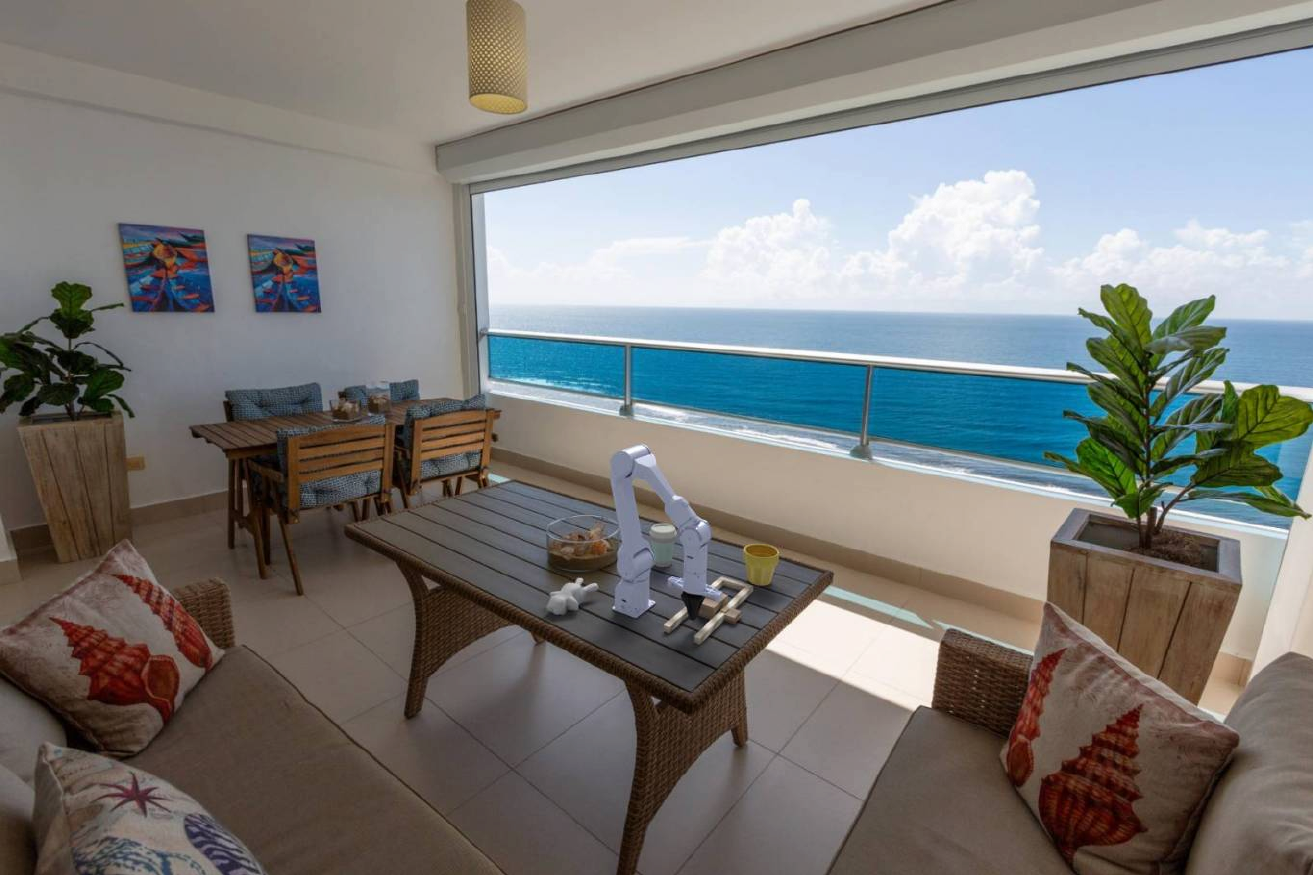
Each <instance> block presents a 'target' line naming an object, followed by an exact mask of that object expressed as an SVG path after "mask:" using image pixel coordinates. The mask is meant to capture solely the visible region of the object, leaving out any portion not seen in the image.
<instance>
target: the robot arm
mask: <svg viewBox="0 0 1313 875" xmlns="http://www.w3.org/2000/svg"><path fill="white" fill-rule="evenodd" d="M609 462H610V468H611V469H610V477H609V480H610V486H611V491H612V496H613V500H614V506H615V511H616V516H617V522H618V527H619V533H620V536H621V537H620V538H621V542H622V543H621V545H620V547H619V549H618V551H617V554H616V555H617V562H616V563H617V564H616V568H617V569H616V570H617V573H618V574H619V576H620V577H621V578H620V579H621V580H620V582H619V583H617V585H616V586H615V589H614V606H612V607H611V608H612V610H613V611H616V612H617V613H621V614H624V615H626V616H629V617H630V618H631V617H632V618H634V619H638V617H640V616H642V614H643V613H645V612H646V611H648V610H649V609H650V608H651V607H653V606H654V605H655V604H656V601H654V600H653V599H650V573H651V569H652V568H653V567H654V566H655V565H654V563H655V556H654V554H653V552H652V548H651V545H650V543H649V541H647V540H646V539H645V538H643V533H642V527H641V523H640V519H639V512H638V507H637V501H636V498H635V497H636V496H635V492H634V486H633V481H634V480H635V479H638V480H639V479H640V480H645V481H646V483H647V484H648V485H649V486H650V488H651V489H652V490H653V491H654V493H656V495H657V496H658V497H659V498H660V499H661V501H663V503H664V512H665V513H666V515H667V516H668V518H669V519H670V520H671V522H672V523H673V524H674V525H673V526H674V527H675V528H677V531H678V532H679V533H680V535H679V540H680V543H681V544H682V547H683V573H682V574H683V577H676V576H670V577H669V578H667V587H671V588H672V587H674V588H676V589H677V588H678V589H680V590H682V593H681V594H680V599H681V600H682V602H683V603H684V607H685V606H686V609H687V612H688V619H689V621H693V622H694V621H696V620H697V619H698V617H699V616H698V613H699V610H700V607H701V605H702V603H703V601H704V599H705V598H706V597H708V598H711V599H714V600H715V601H716V602H719V601H721V600H722V593H723V591H721V590H716V589H714V588H713V587H711V586H710V585H709V584H708V583H707V571H708V570H707V569H708V545H709V543H708V542H710V540H711V539H712V538H713V529H712V527H711V525H710V523H709V522H708V521H707V520H705V519H702V518H701V517H700V516H698V515H697V513H696V512H695V511H694V510H693V508H692V507H691V506H690V503H689V500H688V499H685V497H683V496H679V495H677V494H676V493H675V492H674V490H673V488H672V486H670V484H669V482H668V480H667V479H666V477H665V476H664V474H663V473H662V472H661V470H660V467H659V466H658V464H657V459H656V456H655V455H654V454H653V452H652V451H651V449H650V448H649V447H648V446H647V445H646V444H643V443H640V444H639V443H638V444H636V445H635V446H630V447H628V448H625V449H621V450H617V451H615V453H614V454H613V455H612V456H611V458H610V459H609Z"/></svg>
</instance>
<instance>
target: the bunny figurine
mask: <svg viewBox="0 0 1313 875" xmlns="http://www.w3.org/2000/svg"><path fill="white" fill-rule="evenodd" d="M583 582H584V578H583V577H577V578H576V579H575V582H574V583H573V582H567V583H565V584H564V585H563V586H562V587H561V590H558V591H551V592H550V593H549V600H548V603H547V604H546V605H545V606H546V607H545V608H546V611H547V612H549V613H553V615H557V616H558V615H560V616H564V615H565V614H567V613H568V611H578V610H579V606H580V605H581V604H583V602H584V600H585V597H586V596H587V595H586V594H587V593H589V594H590V593H592V592H596V591H598V590H599V585H598V583H595V582H594V583H590V584H588V585H586V586H584V587H582V586H581V585H582V583H583Z"/></svg>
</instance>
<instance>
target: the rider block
mask: <svg viewBox="0 0 1313 875" xmlns="http://www.w3.org/2000/svg"><path fill="white" fill-rule="evenodd" d="M728 598H729V595H728V594H726V593H723V592H722V600H721V601H719V602H716V601H715V600H714V599H711V598H708V597H706V598H705V599H704V601H703V603H702V605H701V607H700V610H699V613H698V617H701V618H704V619H707V620H709V621H710V620H711V619H712V618H713V617H714V616H715V615H716V614H718V613H719V612H720V610H721V609H722V608H723V607H724V606H726V605H727V604H728V603H729V602H728V601H729V599H728Z"/></svg>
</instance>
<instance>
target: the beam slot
mask: <svg viewBox="0 0 1313 875" xmlns="http://www.w3.org/2000/svg"><path fill="white" fill-rule="evenodd" d="M709 586H711V587H713V588H714V589H716V590H718V591H720V589H721V588H722V587H727V588H731V589H734V590H736V591H739V592H738V593H737V594H736V595H735V596H734V597H733V598H731V600H730V601H729V602H728V603H727V605H726V606H724V607H723V608H722V609H721V610H720V612H719V613H718V614H716V615H715V616H714V617H713V618H712V619H711V620H709V621H708V622H707V623H705V625H704V626H703V627H702V628H701V629H700V630H698V632H697V633H696V634H694V636H693V643H694V644H696V645H701V644H702V643H703V642H704V641H705V640H706V639H707V638H708V637H709V636H711V634H712V633H713V632H714V631H715V630H716V629H717V628H718V627H719V626H720V625H721V624H722V623H723V622H727V623H730V624H733V625H735V624H736V623H737V622H738V621H739V620H741V618H742V610H738V609H737V608H738V607H740V605H741V604H742V603H744V601H745V600H746V599H747V598H748V597H749V596H750V595H752V593H753V592H754V586H753V584H752V585H751V584H748V583H745V582H742V581H739V580H735V579H732V578H729V577H725V576H720V577H718V578H717V579H716V580H715V581H714V582H713V583H712V584H710V585H709ZM687 618H689V616H688V612H687V609H686V606H685V605H684V607H683V608H682V609H680V611H678V612H677V613H676V614H675V615H673V617H671V618H670V619H669V620H668V621H667V622H666V623H664V624H663V632H665V633H667V634H670V633H672V632H673V630H675V629H676V628H677V627H679V625H681V624H682V623H683V621H685V620H686V619H687Z"/></svg>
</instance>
